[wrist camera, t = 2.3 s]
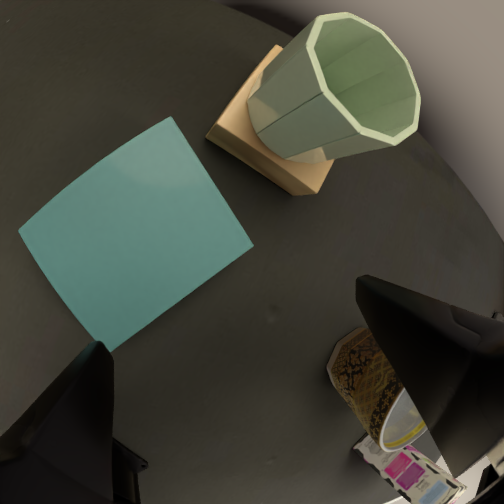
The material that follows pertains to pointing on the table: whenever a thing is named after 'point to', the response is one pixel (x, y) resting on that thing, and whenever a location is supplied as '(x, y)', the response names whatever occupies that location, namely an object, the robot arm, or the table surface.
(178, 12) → the table surface
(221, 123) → the tan block
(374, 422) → the ceramic cup
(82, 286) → the box
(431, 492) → the candy bar box
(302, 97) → the pale green faceted cup
